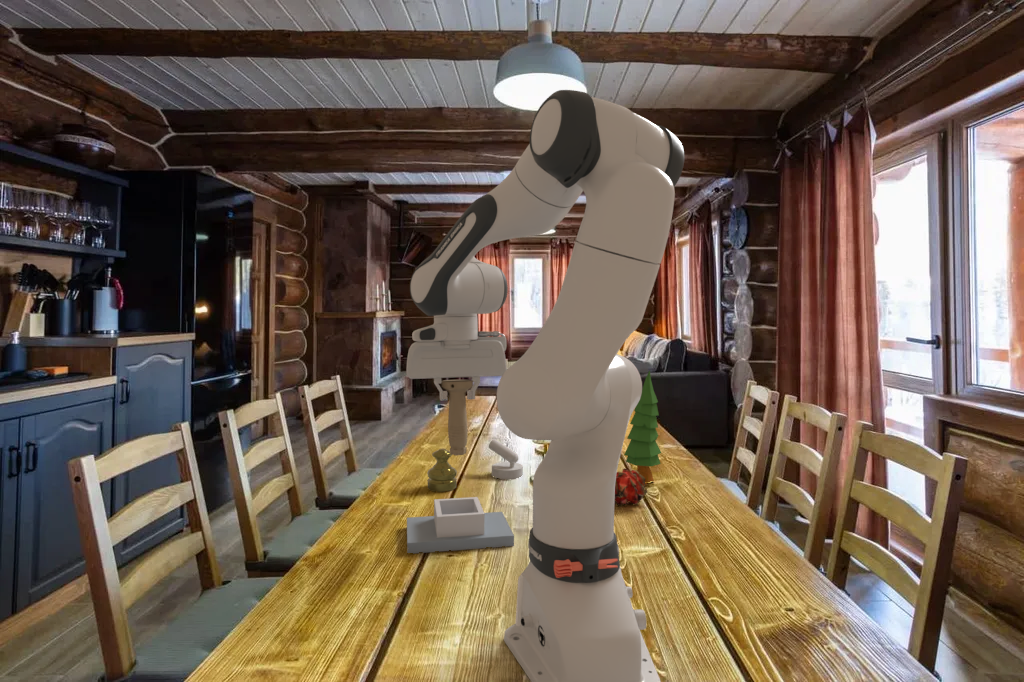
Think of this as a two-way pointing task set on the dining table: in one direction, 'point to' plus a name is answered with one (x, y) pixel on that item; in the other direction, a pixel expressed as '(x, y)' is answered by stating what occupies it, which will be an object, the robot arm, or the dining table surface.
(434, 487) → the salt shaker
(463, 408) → the handle
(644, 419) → the decorative tree
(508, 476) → the wall hook
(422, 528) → the grey base with socket
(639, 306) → the robot arm
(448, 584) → the dining table surface
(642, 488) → the dragon fruit
